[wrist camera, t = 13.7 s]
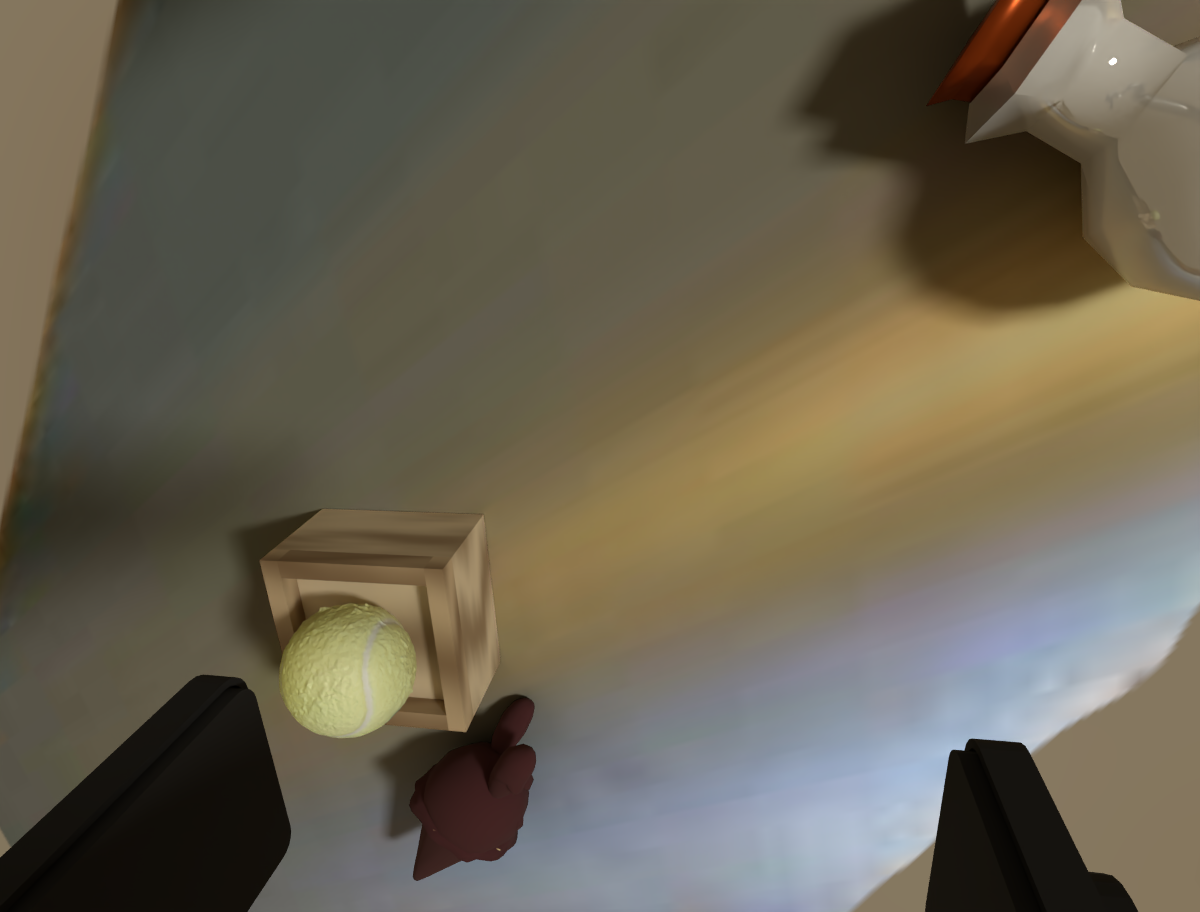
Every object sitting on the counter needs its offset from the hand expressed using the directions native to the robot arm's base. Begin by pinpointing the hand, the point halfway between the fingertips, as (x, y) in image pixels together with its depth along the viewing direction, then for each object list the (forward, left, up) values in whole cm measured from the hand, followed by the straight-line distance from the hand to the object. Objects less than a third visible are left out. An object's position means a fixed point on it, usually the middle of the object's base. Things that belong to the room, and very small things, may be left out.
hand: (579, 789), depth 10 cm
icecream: (+28, -14, -29) cm, 43 cm away
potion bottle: (-8, +17, -29) cm, 34 cm away
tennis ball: (+15, -17, -24) cm, 33 cm away
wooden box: (+15, -17, -28) cm, 36 cm away
